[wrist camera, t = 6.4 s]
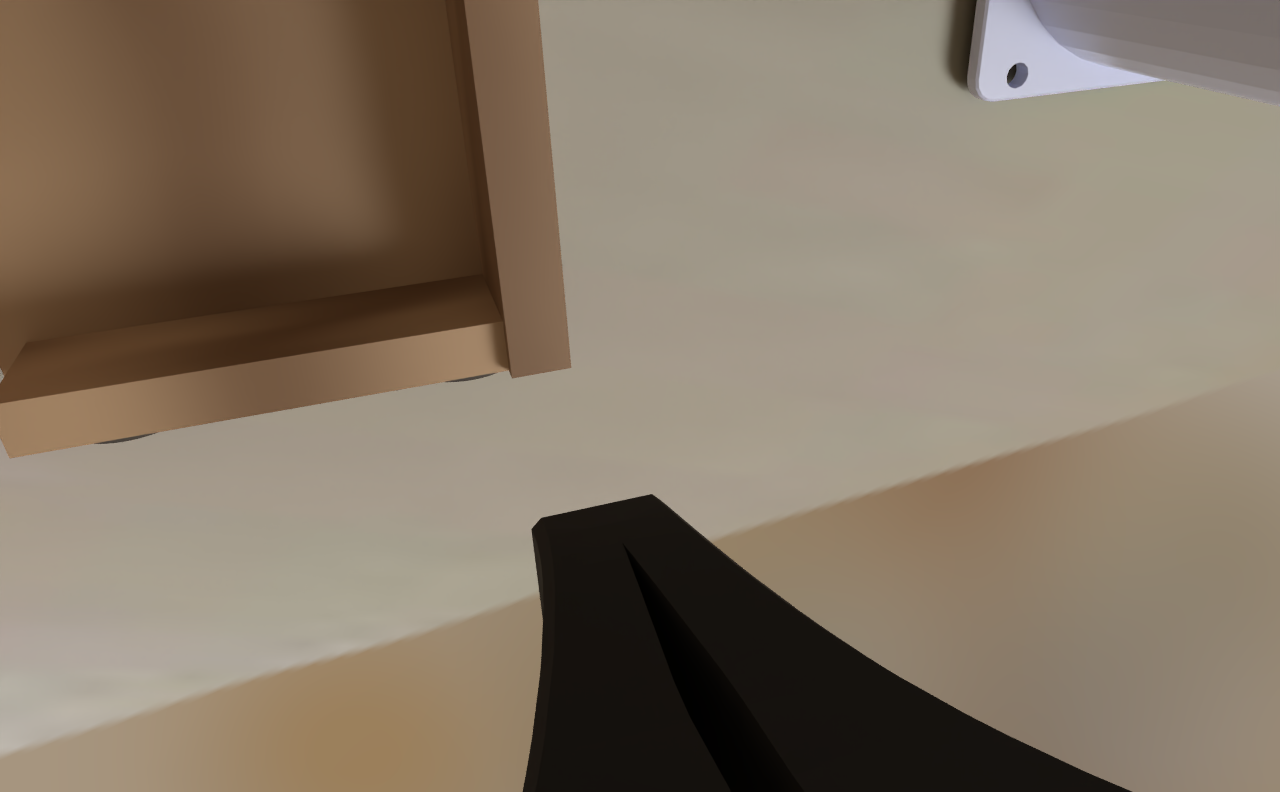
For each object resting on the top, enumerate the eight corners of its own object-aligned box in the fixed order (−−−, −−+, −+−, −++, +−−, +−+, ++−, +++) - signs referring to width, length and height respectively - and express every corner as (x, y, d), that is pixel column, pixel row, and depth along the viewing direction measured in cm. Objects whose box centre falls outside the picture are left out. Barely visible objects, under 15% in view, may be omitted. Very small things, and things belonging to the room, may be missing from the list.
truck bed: (452, -331, 14) (501, -408, 11) (526, 317, 20) (576, 418, 16) (-232, -333, 12) (-476, -430, 8) (61, 393, 18) (-9, 530, 14)
